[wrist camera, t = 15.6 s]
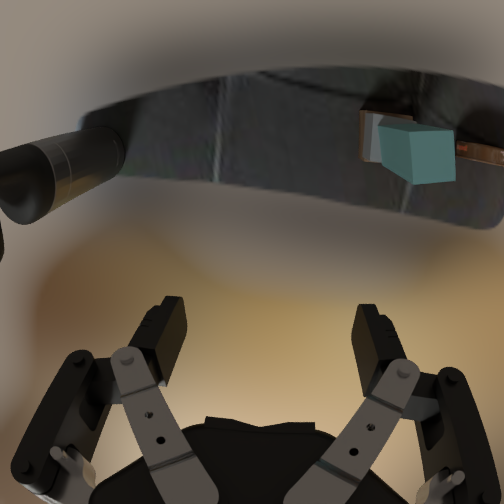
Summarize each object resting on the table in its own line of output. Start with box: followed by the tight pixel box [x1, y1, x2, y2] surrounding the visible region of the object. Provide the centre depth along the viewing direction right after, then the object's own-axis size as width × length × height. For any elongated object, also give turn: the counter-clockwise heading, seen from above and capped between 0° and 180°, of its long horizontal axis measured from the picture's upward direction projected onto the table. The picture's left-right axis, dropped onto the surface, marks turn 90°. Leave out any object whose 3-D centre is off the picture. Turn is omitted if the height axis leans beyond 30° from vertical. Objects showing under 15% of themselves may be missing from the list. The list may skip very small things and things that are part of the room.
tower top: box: [362, 113, 417, 163], centre depth 34 cm, size 6×6×4 cm
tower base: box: [358, 110, 413, 163], centre depth 37 cm, size 7×7×4 cm
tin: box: [455, 140, 504, 167], centre depth 32 cm, size 15×3×8 cm, turn 92°
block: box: [378, 123, 455, 185], centre depth 28 cm, size 5×5×10 cm
